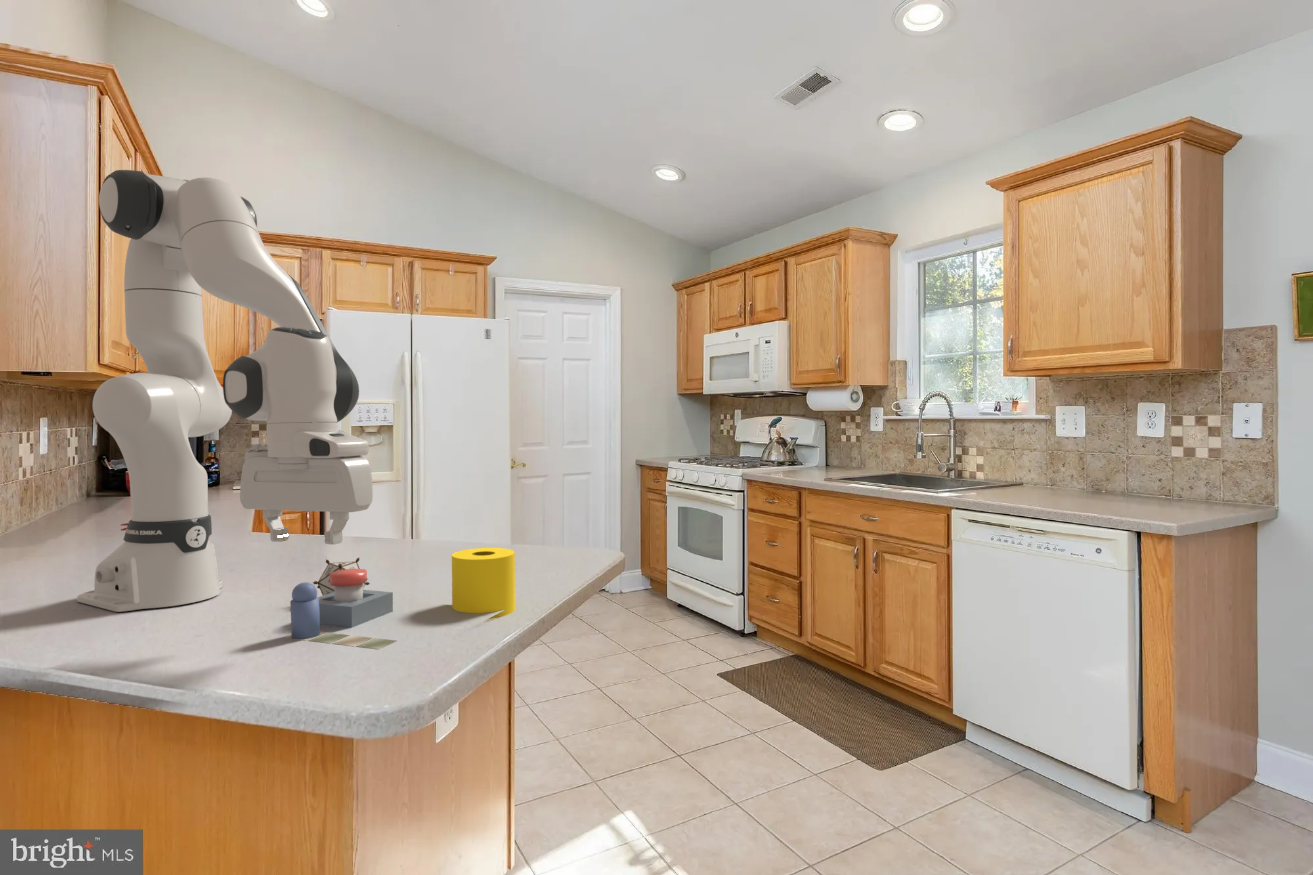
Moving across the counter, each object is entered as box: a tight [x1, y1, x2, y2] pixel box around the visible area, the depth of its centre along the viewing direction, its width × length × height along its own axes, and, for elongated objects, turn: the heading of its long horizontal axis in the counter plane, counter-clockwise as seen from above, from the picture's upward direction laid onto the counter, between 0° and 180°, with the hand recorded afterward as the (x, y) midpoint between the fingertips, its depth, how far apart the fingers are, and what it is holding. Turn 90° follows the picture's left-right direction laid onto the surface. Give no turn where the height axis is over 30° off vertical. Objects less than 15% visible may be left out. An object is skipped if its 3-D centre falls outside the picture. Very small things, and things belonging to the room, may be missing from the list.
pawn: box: [289, 581, 321, 640], centre depth 99 cm, size 4×4×7 cm
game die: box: [312, 557, 371, 596], centre depth 118 cm, size 9×8×10 cm
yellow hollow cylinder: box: [451, 547, 516, 619], centre depth 115 cm, size 10×10×9 cm
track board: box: [285, 631, 397, 650], centre depth 97 cm, size 16×8×1 cm, turn 72°
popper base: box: [318, 589, 394, 629], centre depth 108 cm, size 9×9×4 cm
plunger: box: [330, 568, 368, 603], centre depth 108 cm, size 5×5×7 cm
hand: (306, 542), depth 98 cm, fingers open, 8 cm apart
